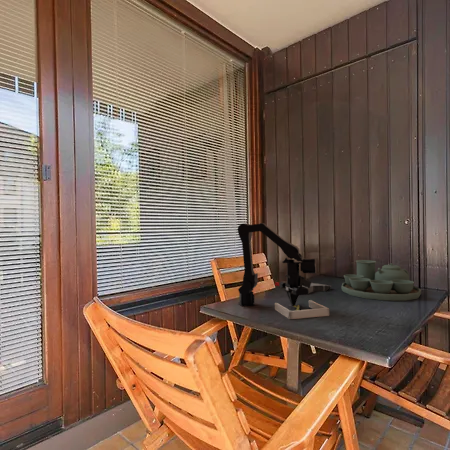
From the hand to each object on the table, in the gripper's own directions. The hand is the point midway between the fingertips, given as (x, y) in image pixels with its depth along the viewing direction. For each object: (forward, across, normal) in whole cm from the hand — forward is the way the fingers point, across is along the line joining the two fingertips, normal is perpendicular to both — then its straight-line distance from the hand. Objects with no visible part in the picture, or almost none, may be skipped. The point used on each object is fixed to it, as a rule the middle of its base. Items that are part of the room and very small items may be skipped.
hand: (293, 306), depth 143 cm
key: (+1, -7, +2) cm, 8 cm away
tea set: (+2, +16, -61) cm, 63 cm away
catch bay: (+1, -7, 0) cm, 7 cm away
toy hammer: (+2, +39, -23) cm, 45 cm away
